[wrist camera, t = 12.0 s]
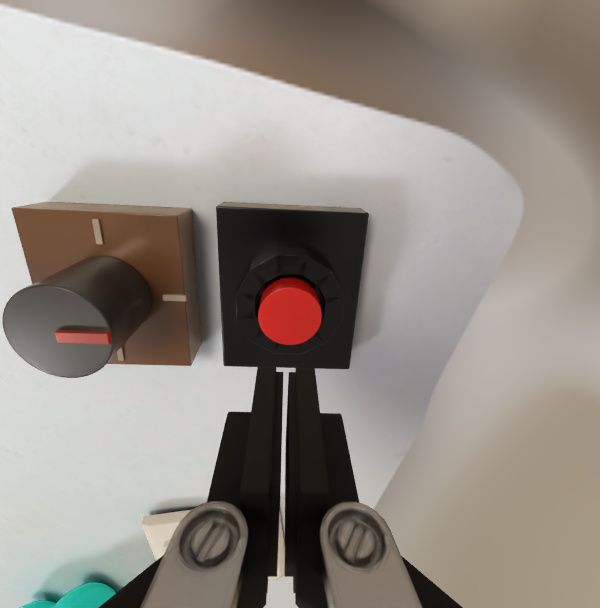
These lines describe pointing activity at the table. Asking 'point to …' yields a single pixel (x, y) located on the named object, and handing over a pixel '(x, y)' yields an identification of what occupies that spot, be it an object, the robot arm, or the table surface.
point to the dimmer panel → (135, 252)
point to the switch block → (289, 264)
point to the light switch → (165, 524)
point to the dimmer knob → (77, 316)
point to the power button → (289, 311)
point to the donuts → (79, 597)
